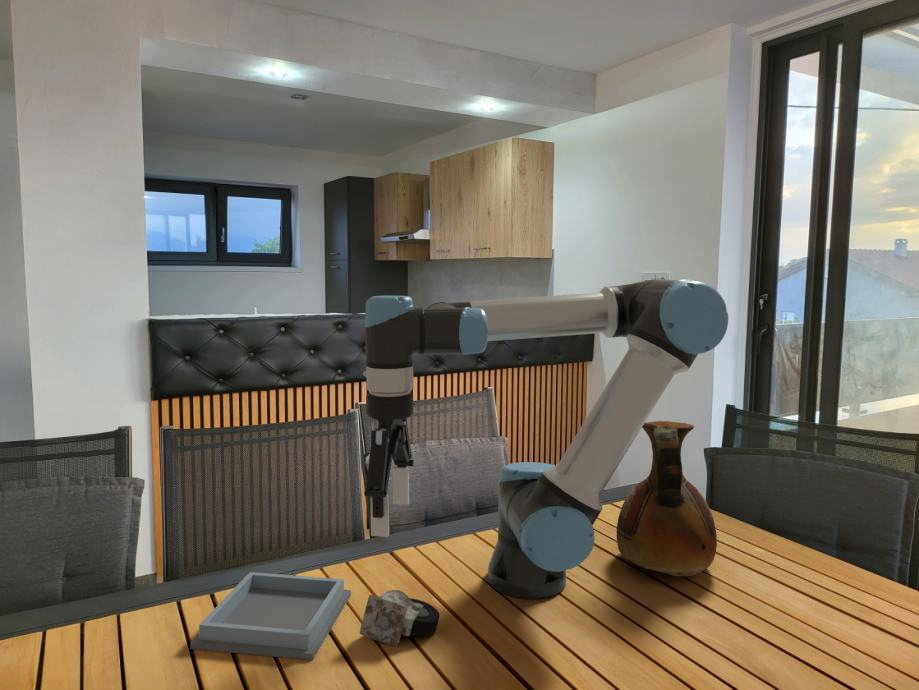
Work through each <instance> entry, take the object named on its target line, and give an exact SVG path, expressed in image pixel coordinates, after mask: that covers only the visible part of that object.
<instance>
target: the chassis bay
mask: <svg viewBox="0 0 919 690" xmlns="http://www.w3.org/2000/svg"><path fill="white" fill-rule="evenodd" d="M350 597H352V590H351V589H345V579H343V578H332V577H319V576H306V575H293V574H292V575H291V574H280V573H279V574H278V573H266V572H254V571H250V572H248V574H246V575H245V577H243V579H241V581H240V582H239V583H238V584H237V585H236V586H235V587H234V588H233V589H232V590H231V591H230V592H229V593H228V594H227V595H226V596H225V597H224V598H223V599H222V600H221V601H220V603H218V605H217V606H216V607H215V608H214V609H213V610H212V611H211V612H209V614H208V615H207V616H206V617H205V618H204V619H203V620H202V621H201V622H200V623H199V624H198V634H197V635H196V636H195V637H194V638H193V639H192V640H191V641H190V643H189V647H190V650H199V651H210V652H211V651H212V652H222V653H231V654H241V655H242V654H243V655H253V656H263V657H275V658H285V659H286V658H287V659H295V660H306V661H314V659H315V657H316V655H317V653H318V652H319V650H320V649H321V647H322V645H323V644H324V642H325V640H326V639H327V637H328V635H329V633H330V632H331V630H332V629H333V626H334V625H335V623H336V621H337V619H338V618H339V616H340V615H341V613H342V611H343V609H344V608H345V606H346V604H347V602H348V600H350Z"/></svg>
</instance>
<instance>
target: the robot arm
mask: <svg viewBox="0 0 919 690" xmlns="http://www.w3.org/2000/svg"><path fill="white" fill-rule="evenodd" d="M413 303H414V301H413V299H412V297H411V296H408V295H375V296H371V297H369V298H368V299H367V300H366V301H365V311H364V312H365V314H364V315H365V317H364V319H365V320H364V336H365V337H364V338H365V339H364V340H365V341H364V342H365V344H364V345H365V365H366V366H365V369H366V370H364V371H363V373H362V375H363V376H364V377H365V378H366V390H367V391H368V393H367V394H366V415H367V417H369V418H371V419H375V420H377V428H376V429H375V430H371V432H370V439H371V440H370V453H369V460H368V470H367V477H366V485H365V486H366V487H365V490H364V492H363V493H364V496H365V497H370V536H371V537H382V538H388V537H389V536H390V494H388V486H389V482H390V475H391V470H392V504H393V505H406V506H407V505H409V504H410V467H413V466H414V462H415V461H414V459H412V457H413V455H412V449H411V448H412V447H411V442H410V435H409V427H408V418H410V417H411V416H413V414H414V394H413V393H412V392H411V391H413V389H414V361H413V360H414V355H415V356H416V355H419V356H423V355H463V356H467V355H473V354H481V353H483V352H484V351H485V350H486V349H487V347H488V342H493V341H495V342H496V341H505V340H506V341H508V340H519V339H523V340H524V339H536V338H550V337H552V338H553V337H564V336H565V337H566V336H576V335H577V336H578V335H579V336H580V335H589V334H591V335H592V334H602V335H603V336H604V337H606V338H607V339H608V338H610V339H611V338H626V341H627V344H628V349H627V351H626V353H625V355H624V357H623V358H622V359H621V361H620V363H619V364H618V366H617V368H616V370H615V371H614V373H613V374H612V376H611V377H610V379H609V381H608V383H607V384H606V386H605V387H604V389H603V390H602V392H601V394H600V396H599V397H598V399H597V400H596V402H595V404H594V405H593V406H592V409H591V410H590V412H589V413H588V415H587V417H586V418H585V420H584V422H583V423H582V425H581V426H580V428H579V429H578V431H577V433H576V434H575V436H574V438H573V440H572V441H571V442H570V445H569V446H568V447H567V449H566V451H565V453H563V455H562V457H561V459H560V461H559V462H558V464H557V466H556V465H555V464H551V463H545V462H537V461H536V462H533V461H527V462H526V461H525V462H524V461H523V462H520V461H519V462H512V463H508V464H505V465H504V466H502V467H501V468H500V471H499V477H498V480H497V483H498V509H497V510H498V511H497V513H498V517H497V519H498V520H497V540H496V545H495V547H494V550H493V552H492V554H491V558H490V560H489V563H488V567H487V580H488V582H489V585H491V587H492V588H494V589H495V590H497V591H498V592H500V593H501V594H505V595H507V596H510V597H513V598H519V599H527V600H529V599H530V600H533V599H534V600H537V599H544V598H549V597H553V596H555V595H557V594H559V593H560V592H562V591H563V590H564V589H565V587H566V583H567V570H569V571H570V570H572V569H574V568H576V567H578V566H579V565H581V564H582V563H583V562H585V561H586V559H587V558H588V557H589V556H590V554H591V552H592V550H593V548H594V545H595V540H596V539H595V537H596V536H595V531H594V526H593V525H594V524H595V522H596V521H597V519H598V518H599V516H600V514H601V512H602V511H603V504H602V500H601V494H602V493H603V491H604V490H605V488H606V486H607V485H608V483H609V481H610V480H611V478H612V477H613V475H614V473H615V472H616V470H617V469H618V467H619V465H620V464H621V462H622V460H623V459H624V457H625V455H626V454H627V452H628V451H629V449H630V448H631V446H632V443H634V441H635V439H636V437H638V434H639V432H640V431H641V429H643V428H642V426H643V425H644V423H645V422H646V421H647V420H648V418H649V417H650V415H651V413H652V412H653V410H654V408H655V406H656V405H657V404H658V401H659V400H660V398H661V397H662V395H663V393H664V392H665V390H666V389H667V387H668V386H669V384H670V382H671V381H672V379H673V377H674V376H675V375H677V374H680V373H685V372H688V371H689V370H690V368H691V366H692V365H693V363H694V362H695V360H696V359H697V357H698V355H701V354H705V353H707V352H709V351H712V350H713V349H715V348H716V347H718V345H719V344H720V343H721V342H722V341H723V339H724V337H725V335H726V333H727V329H728V325H729V312H728V311H727V309H728V308H727V304H726V302H725V300H724V298H723V297H722V295H721V294H720V293H719V291H718V290H716V289H715V288H714V287H713V286H711V285H710V284H707V283H704V282H702V281H697V280H693V279H688V278H684V279H679V280H678V279H677V280H676V279H664V278H663V279H661V278H656V279H655V278H654V279H650V280H643V281H638V282H633V283H628V284H621V285H613V286H611V285H610V286H604V287H602V289H600V291H599V292H591V293H590V292H589V293H588V292H587V293H575V294H574V293H573V294H561V295H546V296H545V295H544V296H531V297H517V298H515V297H514V298H500V299H490V300H489V299H488V300H487V299H486V300H474V301H473V300H472V301H471V300H470V301H459V302H458V301H457V302H444V301H441V302H440V301H438V302H433V303H432V304H429V305H428V306H426V307H425V308H423V307H414V304H413ZM392 461H393V465H394V466H392Z"/></svg>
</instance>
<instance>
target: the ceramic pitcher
mask: <svg viewBox="0 0 919 690" xmlns="http://www.w3.org/2000/svg"><path fill="white" fill-rule="evenodd" d="M641 429H642V430H644V432H645V434H647V436H648V438H649V441H650V444H651V451H652V463H651V469H650V471H649V475H648V476H647V477H646V478H645V479H643V480H641V481H640V482H639V483H638V484H636V485H635V486H634V488H633V489H632V490H630V491H629V493H628V495H627V496H626V497H625V499H624V502H623V504H622V506H621V509H620V511H619V513H618V517H617V518H618V519H617V524H616V543H617V549H618V551H619V553H620V555H621V556H622V557H624V558H625V559H626V560H629V561H630V562H631V563H633V564H635V565H637V566H640V567H643V569H647V570H651V571H656V572H659V573H665V574H668V575H670V576H674V577H689V576H694V575H697V574H699V573H701V572H703V571H705V570H706V569H708V568H710V566H711V565H712V563H713V562H714V560H715V558H716V557H715V556H716V552H717V547H718V541H717V540H718V538H717V537H718V536H717V530H716V524H715V520H714V517H713V513H712V511H711V509H710V507H709V505H708V502H707V500H706V499H705V498H704V496H703V495H702V493H701V492H700V491H699V490H698V489H697V487H695V486H694V485H693V484H692V483H691V482H690V481H688V480H687V478H686V477H685V476H684V475H685V474H684V473H683V465H682V456H681V454H682V444H683V442H684V440H685V437H687V436H688V434H689V433H690V432H691V431H692V430H693V429H695V425H693V424H692V423H686V422H677V421H669V420H663V421H662V420H655V421H647V422H646V421H645V423H644V425H643V426H642V428H641Z"/></svg>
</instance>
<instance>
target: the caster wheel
mask: <svg viewBox="0 0 919 690" xmlns="http://www.w3.org/2000/svg"><path fill="white" fill-rule="evenodd" d="M440 618H441V617H440V612H439V611H438V610H437V608H436V607H435V606H433V605H432V604H430V603H428V602H425V601H424V600H420V599H416V598H413V597H412V598H410V597H409V595H407V594H406V593H405V592H404V591H403V590H400V589H392V590H391V589H390V590H387V591H385V592H384V593H382V594H380V595H378V596H375V595H373V594H368V599H367V602H366V606H365V610H364V613H363V617H362V620H361V625H360V629H359V635H361V636H364V637H367V638H369V639H372V640H375V641H378V642H380V643H383V644H386V645H388V646H390V647H394V648H398V647H399V644H400V640H401V635H402V636H404V637H405V636H406V637H410V636H414V637H427V636H428V637H429V636H431V635H433V634H435V633H436V631H437V629H438V625H439V620H440Z"/></svg>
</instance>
